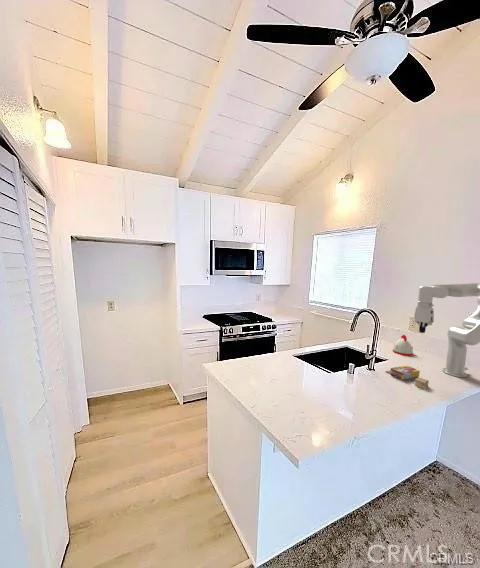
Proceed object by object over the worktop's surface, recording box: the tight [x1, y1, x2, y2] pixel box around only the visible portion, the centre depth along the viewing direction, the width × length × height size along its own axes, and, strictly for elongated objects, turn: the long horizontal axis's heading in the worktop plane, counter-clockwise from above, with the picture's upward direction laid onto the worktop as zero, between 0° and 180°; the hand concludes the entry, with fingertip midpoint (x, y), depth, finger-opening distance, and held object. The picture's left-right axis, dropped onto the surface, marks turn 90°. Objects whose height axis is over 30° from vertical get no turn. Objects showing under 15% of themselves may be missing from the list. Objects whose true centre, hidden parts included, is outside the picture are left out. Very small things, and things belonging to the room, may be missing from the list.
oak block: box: [414, 376, 430, 390], centre depth 150 cm, size 5×5×4 cm
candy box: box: [389, 365, 421, 380], centre depth 164 cm, size 9×4×15 cm
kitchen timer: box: [392, 334, 414, 357], centre depth 209 cm, size 14×14×15 cm
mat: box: [385, 370, 418, 382], centre depth 165 cm, size 14×14×1 cm
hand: (422, 332), depth 168 cm, fingers closed
